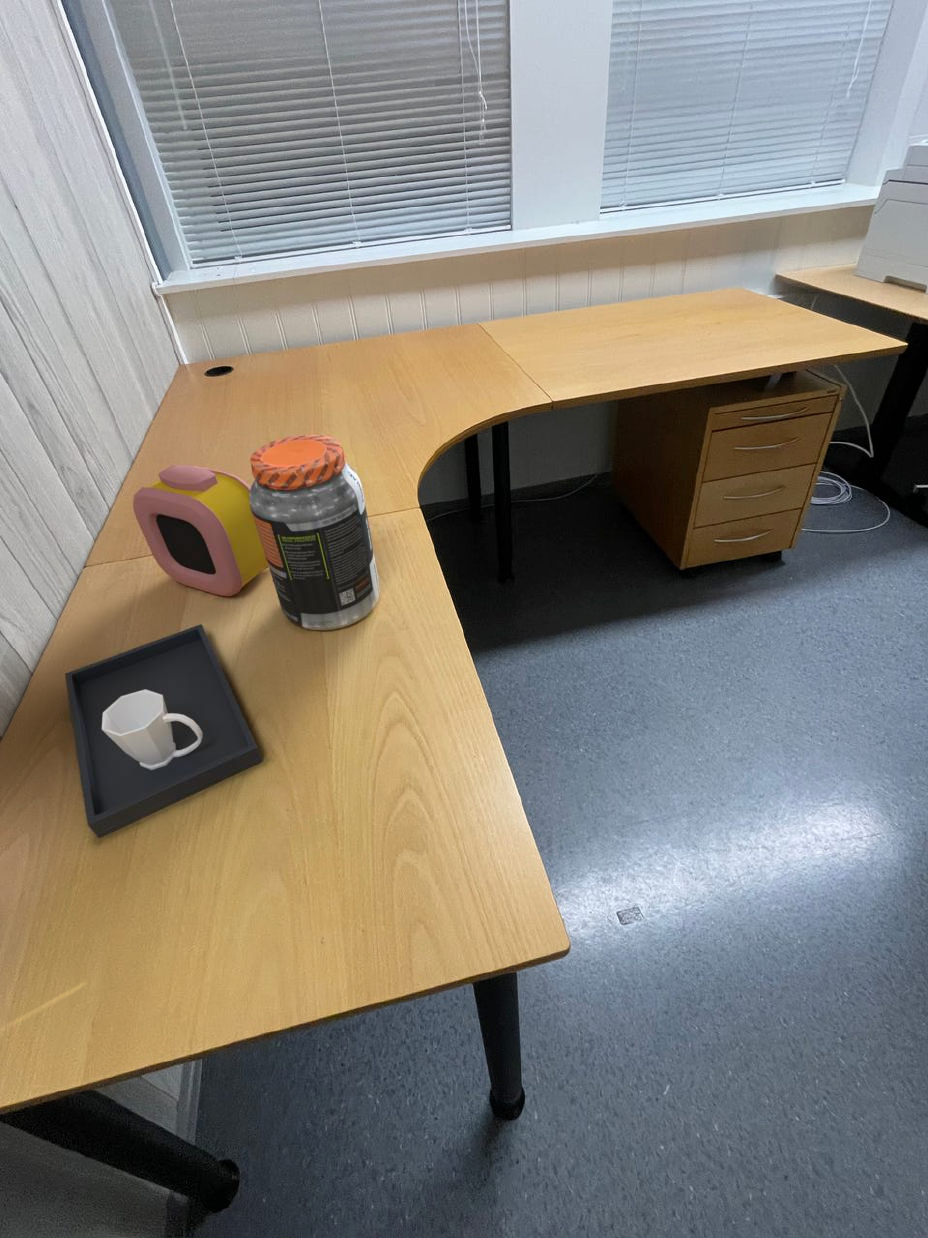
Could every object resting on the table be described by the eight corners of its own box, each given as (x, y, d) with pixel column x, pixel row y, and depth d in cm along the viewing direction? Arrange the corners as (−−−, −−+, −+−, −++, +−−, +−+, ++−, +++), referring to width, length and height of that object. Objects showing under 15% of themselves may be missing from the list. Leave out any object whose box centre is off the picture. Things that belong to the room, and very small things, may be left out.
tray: (263, 761, 73) (256, 747, 72) (98, 838, 66) (87, 825, 64) (207, 637, 92) (201, 623, 90) (74, 687, 85) (64, 673, 83)
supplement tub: (393, 579, 101) (372, 431, 85) (361, 641, 90) (329, 483, 73) (307, 570, 104) (270, 425, 88) (264, 629, 93) (213, 474, 76)
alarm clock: (160, 581, 104) (113, 478, 91) (206, 548, 111) (168, 449, 99) (243, 607, 97) (206, 500, 85) (286, 570, 105) (257, 467, 92)
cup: (141, 733, 77) (115, 689, 71) (219, 731, 76) (199, 687, 71) (117, 780, 71) (87, 736, 66) (201, 777, 71) (177, 733, 66)
